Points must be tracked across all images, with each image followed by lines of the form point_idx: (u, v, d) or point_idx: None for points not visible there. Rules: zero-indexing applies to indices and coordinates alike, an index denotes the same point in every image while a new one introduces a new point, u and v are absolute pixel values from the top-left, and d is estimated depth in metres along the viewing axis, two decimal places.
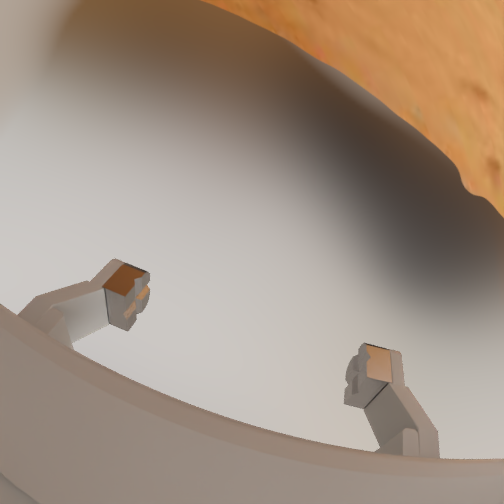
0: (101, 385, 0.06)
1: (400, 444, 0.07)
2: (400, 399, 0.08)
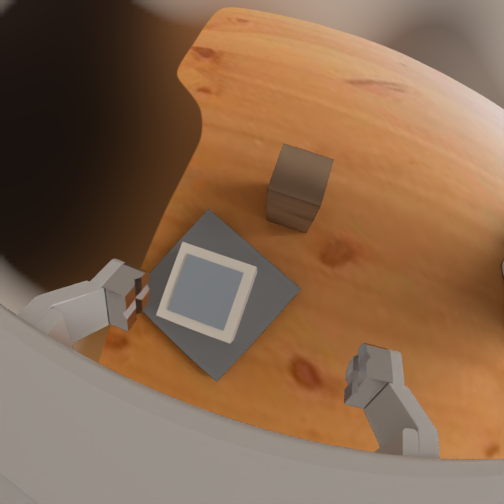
0: (102, 385, 0.06)
1: (400, 444, 0.07)
2: (400, 399, 0.08)
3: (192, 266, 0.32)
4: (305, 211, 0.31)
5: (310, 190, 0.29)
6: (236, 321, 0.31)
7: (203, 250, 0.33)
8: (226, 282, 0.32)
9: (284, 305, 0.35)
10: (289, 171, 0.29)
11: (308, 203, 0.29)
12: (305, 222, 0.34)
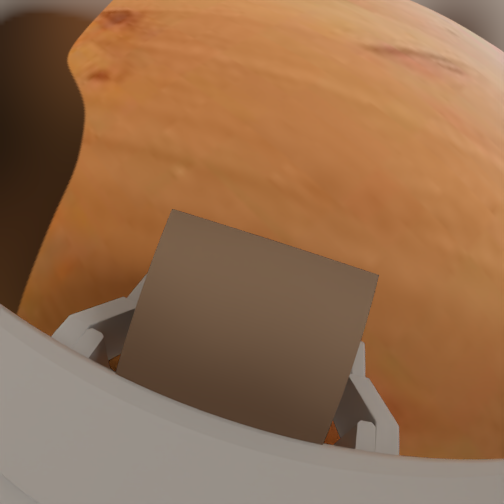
0: (101, 384, 0.06)
1: (354, 437, 0.07)
2: (359, 390, 0.09)
3: None
4: None
5: (271, 424, 0.06)
6: None
7: None
8: None
9: None
10: (188, 343, 0.07)
11: None
12: None
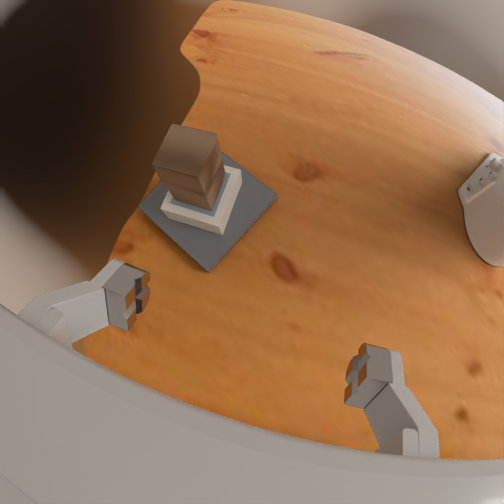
0: (102, 385, 0.06)
1: (400, 444, 0.07)
2: (400, 399, 0.08)
3: None
4: (192, 185, 0.32)
5: (189, 163, 0.30)
6: (224, 209, 0.39)
7: None
8: None
9: (264, 207, 0.44)
10: (173, 148, 0.30)
11: (188, 175, 0.30)
12: (201, 198, 0.35)
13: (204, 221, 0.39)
